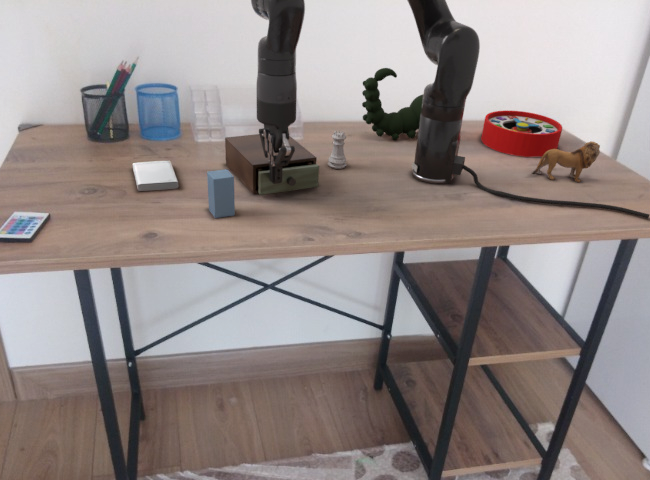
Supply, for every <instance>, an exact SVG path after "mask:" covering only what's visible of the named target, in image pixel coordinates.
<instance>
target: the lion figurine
mask: <svg viewBox="0 0 650 480" xmlns="http://www.w3.org/2000/svg"><path fill="white" fill-rule="evenodd" d="M600 148H601V144H599V143H598V142H596V141H592V140H591V141H587V142H584V145H583V146H581V147H578V148H577V149H576V150H573V151H565V150H561V149H558V148H557V149H551V150H548V151H547V152H546V153H545V154H544V155H543V156H542V157H540V160H539V162H538V164H537V166H536V168H535V169H534V170H533V171H532V172H531V175H535V174H539V175H541V174H543V171H542V170H541V169H542V168H543V167H545V166H548V168H547V170H546V174H547V177H548V179H549V180H551V181H552V180H553V181H554V180H555V179H556V178H555V175H552V172H553V170H554V169H555V167H556V165H559V166H560V167H562V168H566V169H570V173H569V177H570V178H573V179H574V181H575V182H576V183H580V182H581V179H580V175H581V174H582V172H583V169H588V168H590V167H591V166H592V165H593V163H594V162H595V161H597V158H598V157H599V155H600V153H601V151H600Z"/></svg>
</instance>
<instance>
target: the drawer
mask: <svg viewBox="0 0 650 480" xmlns="http://www.w3.org/2000/svg"><path fill="white" fill-rule="evenodd" d="M319 177H320V165H319V164H317V163H316V164H313V165H312V163H311V162H310V161H307V162H299V163H291V164H288V165H287V166H283V167H282V182H281V183H278V184H273V183H272V182H271V181H270V166H267V167H259V168H256V186H257V187H258V193H257V194H259V195H260V196H263V195H270V194H276V193H283V192H290V191H298V190H304V189H311V188H318V187H319Z"/></svg>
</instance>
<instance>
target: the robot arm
mask: <svg viewBox="0 0 650 480" xmlns="http://www.w3.org/2000/svg"><path fill="white" fill-rule="evenodd" d="M406 1H407V3H408V5H409V7H410V10H411V13H412V15H413V18H414V21H415V24H416V28H417V32H418V35H419V38H420V42H421V45H422V48H423V52H424V54H425V56H426V58H427V59H428V60H429V61H430V62H431V63H432V64H433V65H435V66H436V72H435V76H434V81H433V83H429V84H427V85H425V87H424V89H423V93H422V94H423V101H422V108H421V116H420V123H419V130H418V131H417V139H416V146H415V152H414V153H415V155H414V161H412V164H411V168H412V171H411V173H412V176H413V178H414V179H417V180H418V181H420V182H424V183H428V184H435V185H436V184H437V185H438V184H439V185H440V184H451V183H452V181H453V180H454V176H461V175H462V173H463V170H464V171H466V172H467V173H468V174H470V175H471V176H472V179H473V182H474V184H475V186H476V187H477V188H478V189H480V190H482V191H484V192H487V193H489V194H492V195H495V196H501V197H504V198H507V199H513V200H517V201H523V202H529V203H536V204H545V205H553V206H555V205H556V206H568V207H569V206H571V207H582V208H594V209H603V210H609V211H615V212H620V213H625V214H629V215H632V216H636V217H640V218H644V219H648V220H649V218H650V213H645V212H641V211H638V210H634V209H629V208H625V207H621V206H616V205H610V204H604V203H595V202H594V203H593V202H584V201H574V200H573V201H572V200H559V199H545V198H537V197H529V196H524V195H518V194H513V193H509V192H505V191H500V190H494V189H490V188H488V187H486V186H484V185H483V184H481V182H479V177H478V174H477V173H476V172H475V171H474V170H473V169H472V168H470V167H469V166H467V165H465V161H466V157H465V156H461V155H459V150H460V144H461V138H462V135H461V131H462V125H463V118H464V113H465V107H466V102H467V97H468V96H469V94H470V92H471V90H472V88H473V84H474V79H475V75H476V71H477V66H478V62H479V57H480V48H481V44H480V38H479V35H478V33H477V31H476V30H475V29H474V28H472V27H471V26H469V25H466V24H464V23H461V22H458V21H457V20H456V19H455V17H454V16H453V14H452V12H451V10H450V8H449V5H448V2H447V0H406ZM250 4H251V7H252V9H253V11H254V13H255V14H256V15H257V16H258V17H260V18H262V19H264V20H266V21H268V28H267V33H266V35H265V36H263V37H261V38H260V39H259V41H258V44H257V76H256V119H257V122H259V123H260V124H262V125H263V127H262V128H258V134H259V135H260V139H261V143H262V147H263V151H264V156H265V158H268V163H269V164H270V181H271V182H272V183H273V184H278V183H281V182H282V167H283V166H287V165H288V164H289V162H290V160H291V158H292V156H293V154H294V152H295V148H294V146H290V145H289V143H288V141H289V136H290V130H289V127H290V126H291V125H293V124H294V123H295V122H296V120H297V95H298V94H297V93H298V83H297V49H298V48H297V47H298V44H299V41H300V36H301V33H302V29H303V25H304V20H305V14H306V2H305V0H250Z"/></svg>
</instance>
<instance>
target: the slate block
mask: <svg viewBox="0 0 650 480" xmlns="http://www.w3.org/2000/svg"><path fill="white" fill-rule="evenodd" d="M206 178H207V179H206V181H207V198H208V201H207V202H208V211H209V212H210V214H211V215H212V216H213V218H214V219H220V218H225V217H233V216H235V215H236V204H235V177H234V175H233V173H231V172H230V171H229V170H228V169H226V168H225V169H217V170H209V171H206Z"/></svg>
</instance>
